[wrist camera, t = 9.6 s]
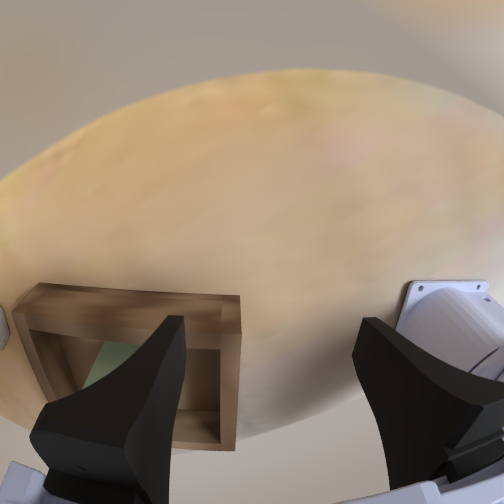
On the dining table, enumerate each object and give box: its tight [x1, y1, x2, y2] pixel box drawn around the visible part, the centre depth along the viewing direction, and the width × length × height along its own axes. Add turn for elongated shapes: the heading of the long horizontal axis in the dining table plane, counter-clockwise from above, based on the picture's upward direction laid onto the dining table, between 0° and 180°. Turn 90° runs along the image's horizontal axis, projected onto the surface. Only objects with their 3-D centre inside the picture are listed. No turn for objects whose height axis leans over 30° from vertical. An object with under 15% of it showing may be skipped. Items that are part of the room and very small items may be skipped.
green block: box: [82, 341, 141, 389], centre depth 20 cm, size 4×4×6 cm
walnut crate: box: [11, 283, 242, 451], centre depth 22 cm, size 16×13×4 cm
